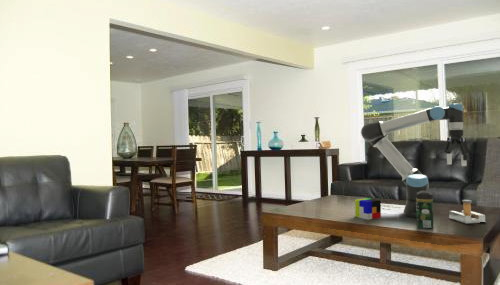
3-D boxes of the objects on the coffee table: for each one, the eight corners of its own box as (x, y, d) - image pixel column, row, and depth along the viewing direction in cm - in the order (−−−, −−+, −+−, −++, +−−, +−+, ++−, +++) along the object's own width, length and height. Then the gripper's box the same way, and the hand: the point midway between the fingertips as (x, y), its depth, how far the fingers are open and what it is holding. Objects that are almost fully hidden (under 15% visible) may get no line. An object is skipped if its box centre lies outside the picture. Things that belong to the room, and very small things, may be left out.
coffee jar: (416, 224, 208) (416, 189, 208) (433, 225, 205) (432, 190, 205) (416, 228, 199) (416, 192, 199) (433, 229, 196) (433, 192, 196)
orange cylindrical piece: (466, 221, 212) (466, 201, 212) (460, 219, 216) (460, 200, 216) (473, 221, 213) (473, 201, 212) (468, 219, 217) (468, 199, 217)
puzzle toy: (367, 219, 222) (367, 202, 222) (355, 216, 231) (355, 199, 231) (380, 217, 227) (380, 200, 226) (368, 214, 235) (367, 198, 235)
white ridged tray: (465, 223, 208) (465, 215, 208) (449, 218, 222) (449, 210, 222) (485, 222, 209) (485, 215, 209) (467, 217, 223) (467, 210, 223)
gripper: (476, 129, 221) (476, 166, 222) (449, 129, 246) (449, 163, 246) (464, 129, 220) (464, 167, 221) (437, 129, 245) (438, 163, 246)
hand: (456, 165), depth 234 cm, fingers open, 13 cm apart
